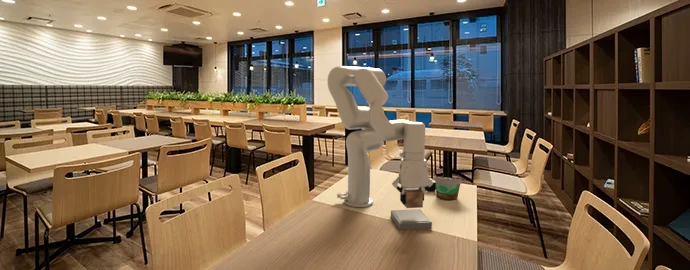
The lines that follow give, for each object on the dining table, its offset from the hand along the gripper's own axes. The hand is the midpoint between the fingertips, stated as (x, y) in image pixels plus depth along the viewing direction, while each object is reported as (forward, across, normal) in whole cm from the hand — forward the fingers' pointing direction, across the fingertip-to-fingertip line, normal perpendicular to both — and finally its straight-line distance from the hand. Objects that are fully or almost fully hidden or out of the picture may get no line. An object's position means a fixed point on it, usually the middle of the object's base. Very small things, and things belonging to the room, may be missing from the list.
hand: (412, 202), depth 122 cm
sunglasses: (+8, +19, +41) cm, 46 cm away
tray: (+8, 0, 0) cm, 8 cm away
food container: (+8, +24, +22) cm, 34 cm away
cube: (+1, 0, 0) cm, 1 cm away
